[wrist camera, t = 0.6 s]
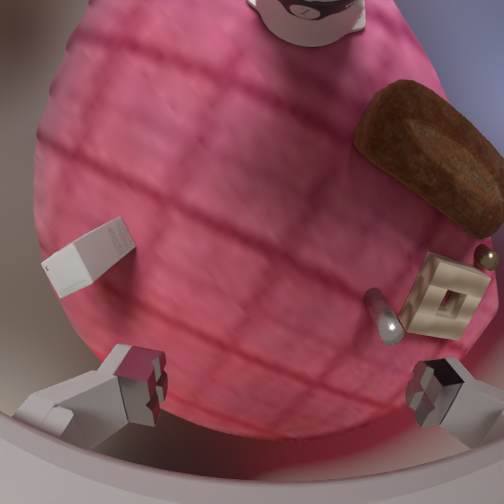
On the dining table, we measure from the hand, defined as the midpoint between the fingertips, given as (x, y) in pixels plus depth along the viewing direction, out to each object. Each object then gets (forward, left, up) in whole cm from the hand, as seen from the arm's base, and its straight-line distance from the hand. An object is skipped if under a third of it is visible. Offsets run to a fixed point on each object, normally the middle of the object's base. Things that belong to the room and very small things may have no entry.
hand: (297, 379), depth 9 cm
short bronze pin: (+1, +41, -40) cm, 57 cm away
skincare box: (+16, -27, -40) cm, 51 cm away
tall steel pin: (+15, +21, -40) cm, 48 cm away
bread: (-11, +22, -40) cm, 47 cm away
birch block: (+11, +35, -40) cm, 54 cm away
